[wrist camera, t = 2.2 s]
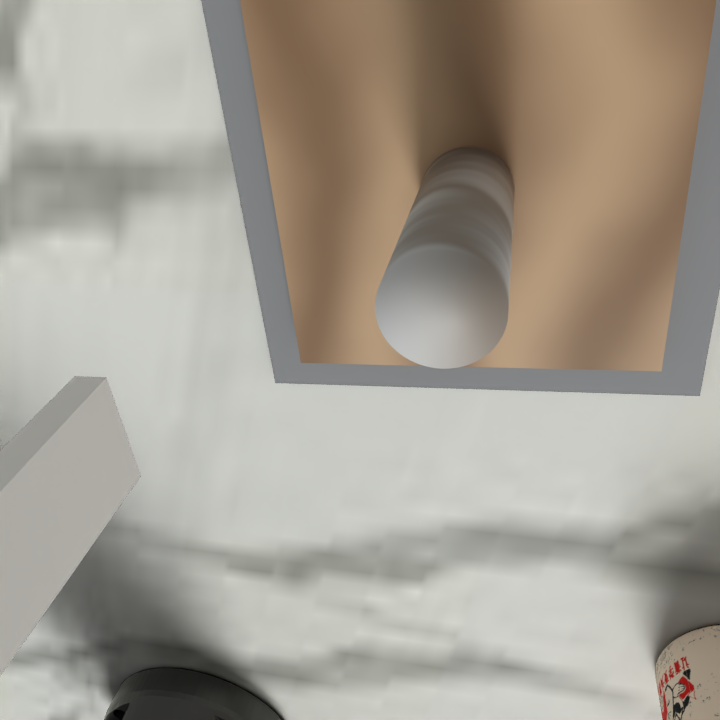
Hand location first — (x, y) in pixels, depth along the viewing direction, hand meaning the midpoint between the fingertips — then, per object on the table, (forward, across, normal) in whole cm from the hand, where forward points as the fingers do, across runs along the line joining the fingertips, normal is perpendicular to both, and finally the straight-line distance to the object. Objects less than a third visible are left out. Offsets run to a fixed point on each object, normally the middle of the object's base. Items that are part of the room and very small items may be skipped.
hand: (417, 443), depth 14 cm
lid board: (+17, 0, 0) cm, 17 cm away
